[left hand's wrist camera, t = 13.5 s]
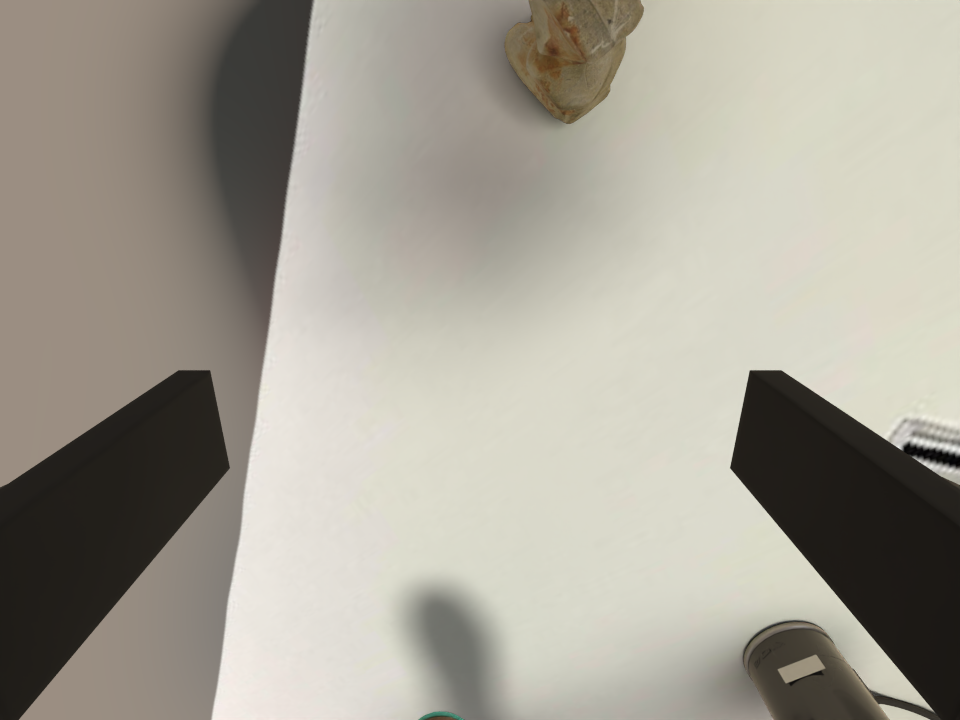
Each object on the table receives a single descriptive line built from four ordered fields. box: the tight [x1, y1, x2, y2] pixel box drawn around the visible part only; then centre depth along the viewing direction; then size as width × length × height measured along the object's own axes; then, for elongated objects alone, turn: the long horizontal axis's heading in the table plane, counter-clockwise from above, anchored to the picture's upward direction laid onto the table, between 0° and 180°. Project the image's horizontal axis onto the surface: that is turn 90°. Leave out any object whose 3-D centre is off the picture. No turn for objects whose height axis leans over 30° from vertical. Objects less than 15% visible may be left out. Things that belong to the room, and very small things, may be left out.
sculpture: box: [505, 0, 644, 124], centre depth 29 cm, size 6×7×15 cm
